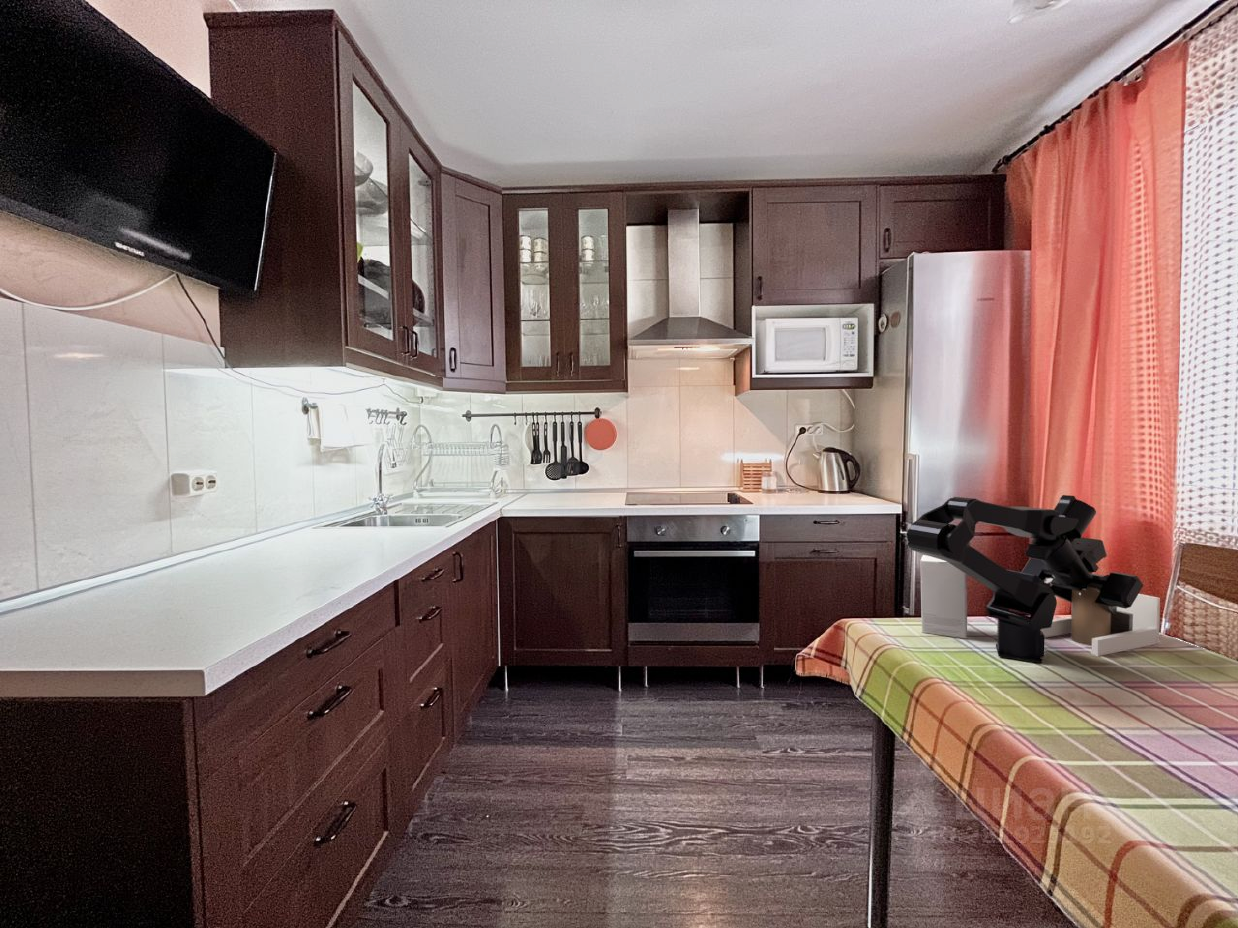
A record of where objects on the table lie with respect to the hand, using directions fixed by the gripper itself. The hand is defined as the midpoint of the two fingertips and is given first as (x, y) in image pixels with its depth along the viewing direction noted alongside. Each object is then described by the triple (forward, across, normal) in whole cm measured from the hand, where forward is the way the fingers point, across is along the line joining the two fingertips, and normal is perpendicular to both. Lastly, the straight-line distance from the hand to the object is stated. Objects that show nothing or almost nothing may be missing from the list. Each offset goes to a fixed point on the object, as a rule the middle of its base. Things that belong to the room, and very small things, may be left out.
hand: (1095, 607), depth 109 cm
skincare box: (-12, +14, +22) cm, 28 cm away
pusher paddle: (+7, 0, +2) cm, 7 cm away
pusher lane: (+5, 0, +5) cm, 7 cm away
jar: (+4, 0, +6) cm, 7 cm away
